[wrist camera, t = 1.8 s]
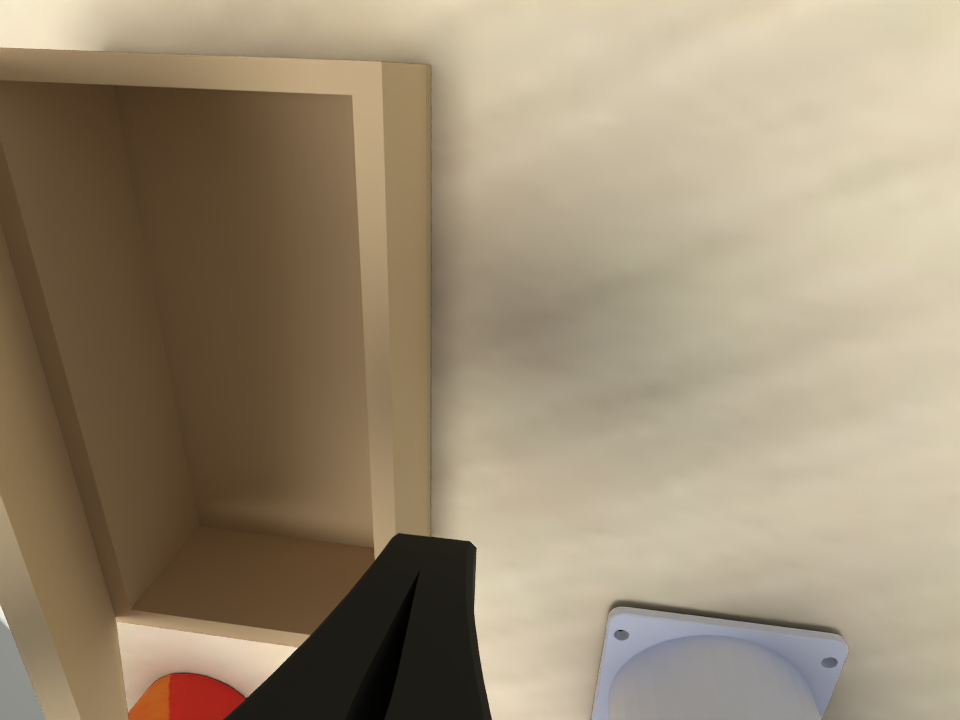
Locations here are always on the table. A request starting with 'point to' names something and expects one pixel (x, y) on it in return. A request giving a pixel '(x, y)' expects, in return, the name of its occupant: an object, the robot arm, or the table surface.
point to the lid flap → (49, 539)
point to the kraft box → (228, 319)
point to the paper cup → (186, 699)
